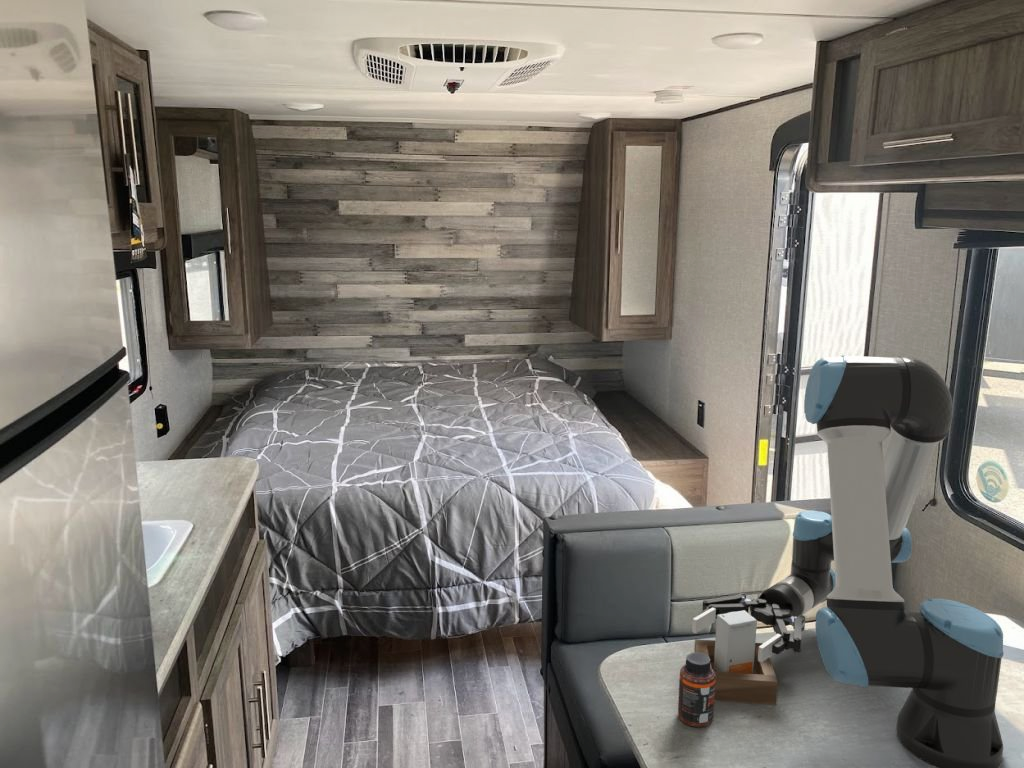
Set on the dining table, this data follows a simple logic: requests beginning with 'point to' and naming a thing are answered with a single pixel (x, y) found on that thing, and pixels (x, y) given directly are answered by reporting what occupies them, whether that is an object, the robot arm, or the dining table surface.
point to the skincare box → (735, 642)
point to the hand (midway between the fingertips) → (725, 640)
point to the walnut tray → (742, 679)
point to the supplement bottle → (696, 691)
